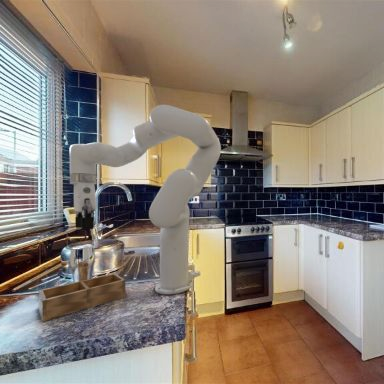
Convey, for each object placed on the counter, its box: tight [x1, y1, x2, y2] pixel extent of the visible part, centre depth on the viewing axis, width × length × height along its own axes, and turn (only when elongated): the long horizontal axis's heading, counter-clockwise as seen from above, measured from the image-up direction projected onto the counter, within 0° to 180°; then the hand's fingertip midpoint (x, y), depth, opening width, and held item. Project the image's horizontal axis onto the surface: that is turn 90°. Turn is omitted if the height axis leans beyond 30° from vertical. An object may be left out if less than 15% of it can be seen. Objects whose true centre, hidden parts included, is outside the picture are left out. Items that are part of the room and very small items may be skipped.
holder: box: [38, 272, 126, 323], centre depth 70 cm, size 20×10×5 cm, turn 137°
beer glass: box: [69, 244, 96, 283], centre depth 80 cm, size 7×7×15 cm
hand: (84, 228), depth 81 cm, fingers open, 9 cm apart
